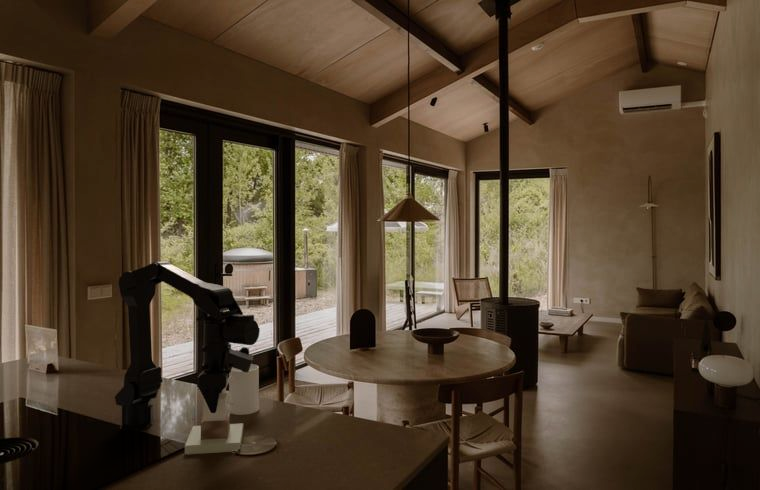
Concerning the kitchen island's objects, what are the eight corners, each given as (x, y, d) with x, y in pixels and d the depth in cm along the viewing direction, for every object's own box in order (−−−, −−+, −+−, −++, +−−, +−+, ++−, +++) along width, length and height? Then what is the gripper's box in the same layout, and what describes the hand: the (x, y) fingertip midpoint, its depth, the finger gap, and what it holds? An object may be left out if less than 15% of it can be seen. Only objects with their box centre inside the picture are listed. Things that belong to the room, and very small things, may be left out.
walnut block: (200, 439, 122) (200, 422, 122) (204, 429, 128) (204, 413, 128) (227, 438, 123) (227, 421, 123) (229, 428, 129) (230, 412, 129)
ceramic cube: (202, 421, 122) (203, 400, 122) (205, 414, 127) (205, 393, 127) (225, 420, 123) (225, 399, 123) (227, 413, 128) (227, 392, 128)
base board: (184, 454, 118) (184, 445, 118) (193, 434, 130) (193, 426, 130) (239, 451, 121) (239, 442, 121) (243, 431, 132) (243, 423, 132)
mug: (232, 420, 140) (232, 375, 139) (211, 413, 144) (212, 370, 144) (265, 409, 149) (266, 366, 149) (245, 402, 154) (245, 362, 154)
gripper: (249, 348, 117) (248, 418, 118) (253, 332, 135) (252, 392, 136) (196, 350, 115) (196, 420, 115) (207, 333, 133) (207, 394, 134)
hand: (215, 406), depth 125 cm, fingers open, 9 cm apart
